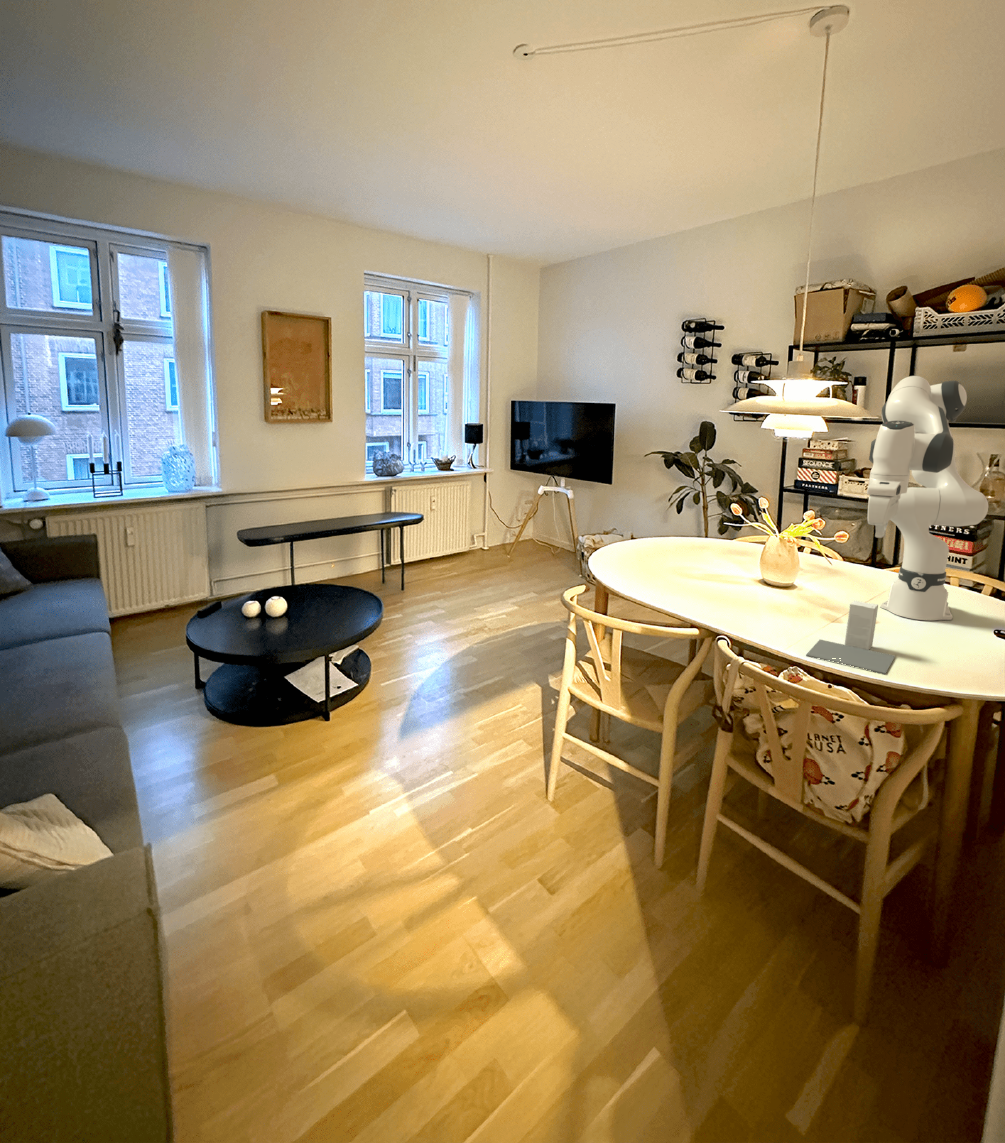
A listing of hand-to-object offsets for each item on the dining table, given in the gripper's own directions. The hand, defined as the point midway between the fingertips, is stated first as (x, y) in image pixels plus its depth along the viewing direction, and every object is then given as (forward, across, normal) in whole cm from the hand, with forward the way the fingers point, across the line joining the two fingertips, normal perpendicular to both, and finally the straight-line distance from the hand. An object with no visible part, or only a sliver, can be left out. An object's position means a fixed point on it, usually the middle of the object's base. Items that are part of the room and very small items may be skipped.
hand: (879, 536), depth 165 cm
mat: (+29, +16, 0) cm, 33 cm away
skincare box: (+29, +7, 0) cm, 30 cm away
